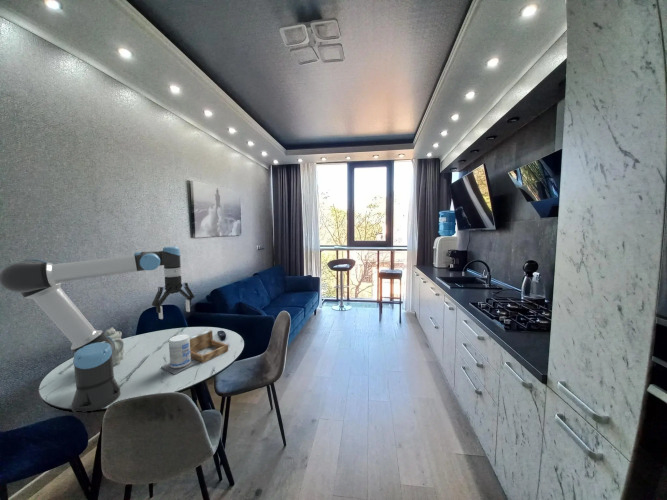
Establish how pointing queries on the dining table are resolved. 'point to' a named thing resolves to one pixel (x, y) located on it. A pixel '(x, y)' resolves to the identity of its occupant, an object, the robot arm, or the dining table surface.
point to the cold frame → (205, 346)
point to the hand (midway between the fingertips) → (175, 314)
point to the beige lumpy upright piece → (116, 345)
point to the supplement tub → (179, 351)
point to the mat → (178, 370)
